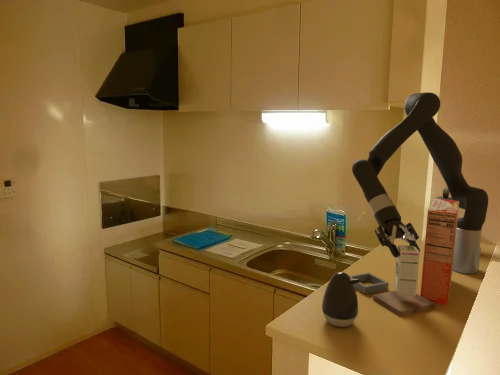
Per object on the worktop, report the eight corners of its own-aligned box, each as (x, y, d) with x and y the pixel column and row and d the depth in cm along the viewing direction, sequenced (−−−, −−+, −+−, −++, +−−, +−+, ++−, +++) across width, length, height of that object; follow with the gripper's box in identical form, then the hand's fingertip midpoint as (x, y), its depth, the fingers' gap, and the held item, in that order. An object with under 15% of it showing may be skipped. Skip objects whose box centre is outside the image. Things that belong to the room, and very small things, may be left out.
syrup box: (416, 296, 117) (421, 251, 115) (396, 294, 118) (400, 250, 116) (412, 288, 123) (416, 245, 120) (393, 287, 124) (397, 244, 121)
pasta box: (427, 275, 144) (434, 198, 139) (451, 280, 140) (459, 200, 135) (420, 299, 125) (427, 210, 120) (447, 305, 121) (456, 213, 116)
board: (405, 292, 130) (405, 288, 130) (434, 307, 119) (435, 303, 119) (373, 299, 124) (373, 295, 124) (400, 316, 114) (400, 311, 113)
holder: (368, 278, 141) (369, 272, 141) (388, 289, 132) (388, 282, 132) (346, 282, 137) (346, 276, 137) (364, 294, 128) (365, 287, 128)
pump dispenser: (352, 335, 103) (355, 283, 100) (315, 325, 108) (317, 274, 106) (362, 319, 111) (365, 270, 109) (328, 310, 117) (330, 263, 114)
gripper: (373, 206, 122) (397, 252, 113) (407, 203, 127) (432, 246, 119) (361, 218, 127) (383, 263, 119) (394, 215, 133) (417, 257, 124)
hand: (407, 254), depth 119 cm, fingers closed on syrup box, 7 cm apart
